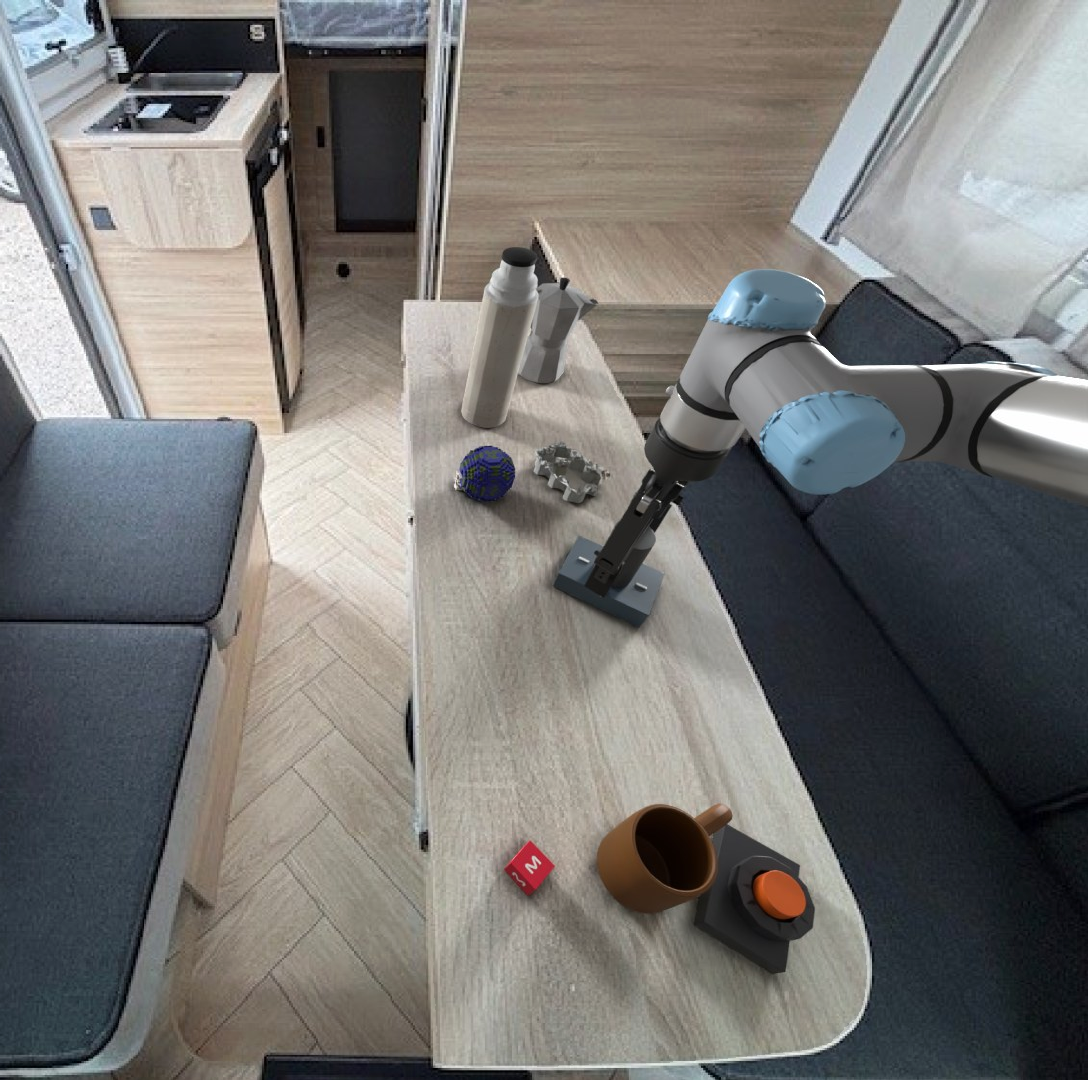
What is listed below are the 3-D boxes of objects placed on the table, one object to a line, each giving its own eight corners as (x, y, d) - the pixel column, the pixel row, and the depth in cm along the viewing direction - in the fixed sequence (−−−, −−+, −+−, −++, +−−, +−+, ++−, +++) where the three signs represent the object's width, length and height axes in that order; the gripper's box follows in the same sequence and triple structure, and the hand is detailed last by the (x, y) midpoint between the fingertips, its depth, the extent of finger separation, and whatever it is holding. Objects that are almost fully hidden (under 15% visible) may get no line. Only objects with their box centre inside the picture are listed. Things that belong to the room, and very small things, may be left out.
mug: (664, 795, 63) (706, 764, 56) (721, 866, 59) (774, 843, 52) (578, 852, 59) (611, 826, 52) (632, 932, 55) (676, 917, 48)
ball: (460, 510, 89) (468, 473, 83) (451, 475, 94) (458, 438, 88) (512, 508, 90) (524, 471, 84) (500, 473, 94) (510, 436, 89)
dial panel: (657, 583, 81) (666, 569, 79) (638, 631, 76) (648, 618, 74) (573, 545, 85) (580, 531, 83) (550, 589, 80) (557, 575, 78)
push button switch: (795, 874, 59) (820, 865, 55) (780, 979, 53) (807, 976, 50) (714, 828, 61) (734, 817, 58) (692, 924, 56) (713, 918, 52)
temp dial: (604, 552, 81) (626, 511, 74) (638, 572, 79) (664, 532, 72) (586, 573, 78) (607, 532, 72) (620, 594, 76) (645, 554, 70)
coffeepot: (574, 362, 115) (605, 271, 102) (572, 390, 110) (605, 297, 96) (495, 349, 118) (516, 258, 104) (489, 375, 112) (510, 283, 98)
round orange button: (796, 889, 54) (808, 885, 53) (791, 928, 52) (803, 925, 51) (755, 865, 56) (766, 861, 54) (749, 903, 54) (759, 899, 52)
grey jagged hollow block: (605, 494, 92) (614, 475, 89) (568, 509, 90) (576, 490, 87) (561, 452, 98) (569, 433, 95) (525, 465, 96) (532, 446, 93)
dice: (522, 847, 59) (530, 839, 57) (546, 872, 58) (555, 865, 56) (503, 869, 58) (510, 862, 56) (527, 895, 57) (535, 889, 54)
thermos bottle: (487, 395, 108) (524, 236, 86) (515, 419, 103) (561, 259, 82) (452, 407, 105) (480, 247, 84) (479, 433, 101) (516, 270, 79)
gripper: (706, 367, 67) (634, 498, 84) (605, 471, 55) (544, 600, 72) (773, 395, 64) (685, 526, 81) (681, 512, 52) (600, 637, 69)
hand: (618, 561), depth 76 cm, fingers open, 12 cm apart
